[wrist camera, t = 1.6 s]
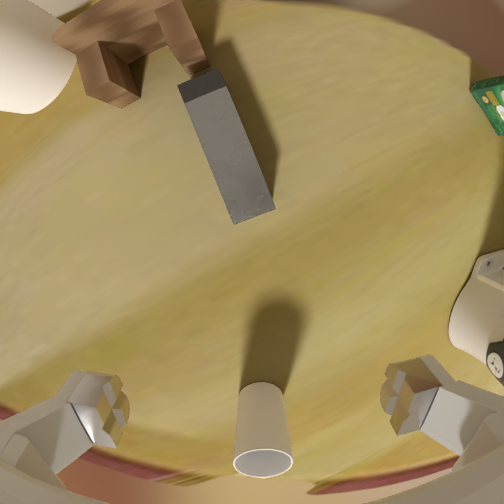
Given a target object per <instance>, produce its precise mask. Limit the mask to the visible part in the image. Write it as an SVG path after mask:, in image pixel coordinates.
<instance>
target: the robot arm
mask: <svg viewBox="0 0 504 504" xmlns="http://www.w3.org/2000/svg"><path fill="white" fill-rule="evenodd" d="M449 337H450V340H451V342H452V344H453V345H454V346H455V347H456V348H458V349H460V350H463V351H465V352H467V353H469V354H471V355H472V356H474V357H475V358H477V359H478V360H480V361H481V362H483V363H484V364H485V365H486V366H487V367H488V368H489V370H490V371H491V373H492V374H493V375H494V376H495V377H496V379H497V380H498V381H499V382H500V383H501V384H502V385H503V386H504V249H503V250H499V251H496V252H493V253H489V254H486V255H482V256H480V257H479V258H478V259H477V261H476V263H475V266H474V269H473V272H472V275H471V277H470V279H469V281H468V282H467V284H466V285H465V287H464V288H463V290H462V291H461V293H460V295H459V297H458V298H457V301H456V303H455V305H454V308H453V310H452V313H451V317H450V322H449ZM385 375H386V377H387V378H388V379H387V380H386V381H385V382H384V383H383V384H382V387H381V392H380V401H381V405H382V407H383V409H384V411H385V412H386V413H388V414H389V415H391V419H390V423H391V425H392V427H393V429H394V431H395V432H396V434H397V436H398V435H402V434H406V433H409V432H413V431H416V430H420V429H421V430H420V431H422V432H423V433H425V434H426V435H428V436H429V437H431V438H432V439H434V440H436V441H437V442H439V443H440V444H442V445H443V446H445V447H446V448H448V449H450V450H451V451H453V452H454V453H456V454H458V455H459V456H460V457H459V459H458V460H457V462H456V463H455V464H454V466H453V468H452V471H453V472H451V473H449V474H447V475H444V476H442V477H440V478H438V479H435V480H433V481H431V482H428V483H426V484H423V485H420V486H418V487H415V488H413V489H410V490H408V491H404V492H401V493H398V494H395V495H392V496H389V497H386V498H382V499H379V500H376V501H372V502H368V503H364V504H504V397H503V396H500V395H497V394H495V393H492V392H489V391H486V390H484V389H481V388H478V387H475V386H473V385H470V384H467V383H465V382H462V381H455V380H454V379H453V378H452V377H451V376H450V374H449V373H448V372H447V371H446V370H445V369H444V368H443V366H442V365H441V364H440V363H439V362H438V361H437V360H436V359H435V358H434V356H432V355H430V354H428V355H424V356H421V357H417V358H414V359H409V360H405V361H400V362H395V363H390V364H389V365H388V367H387V369H386V372H385ZM122 386H123V385H122V382H121V379H120V377H118V376H117V375H112V374H105V373H98V372H92V371H84V370H78V369H77V370H74V371H73V372H72V374H71V375H70V376H69V378H68V379H67V381H66V382H65V383H64V385H63V386H62V387H61V389H60V390H59V392H58V393H57V394H56V396H55V397H54V399H50V398H49V399H47V400H45V401H43V402H41V403H39V404H37V405H35V406H33V407H31V408H28V409H26V410H24V411H22V412H20V413H18V414H16V415H14V416H11V417H9V418H7V419H5V420H3V421H1V422H0V504H110V503H106V502H102V501H98V500H95V499H92V498H88V497H85V496H82V495H79V494H76V493H73V492H70V491H67V490H65V489H66V487H65V485H64V483H63V482H62V481H61V480H60V479H59V478H58V477H57V475H56V474H57V473H59V472H60V471H61V470H63V469H64V468H65V467H66V466H68V465H69V464H70V463H72V462H73V461H74V460H75V459H77V458H78V457H79V456H80V455H82V454H83V453H84V452H85V451H87V450H88V449H89V448H90V447H92V446H93V444H95V445H101V446H106V447H112V448H117V446H118V444H119V441H120V439H121V436H122V434H123V433H122V431H121V429H120V427H122V426H123V425H125V424H126V423H127V421H128V418H129V411H130V407H129V401H128V398H127V396H126V395H125V394H124V393H123V392H122V391H121V388H122Z"/></svg>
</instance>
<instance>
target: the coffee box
mask: <svg viewBox="0 0 504 504" xmlns="http://www.w3.org/2000/svg"><path fill="white" fill-rule="evenodd" d="M470 92H471V93H472V94H473V96H474V97H475V99H476V101H477V103H478V104H479V105H480V106H481V108H482V109H483V111H484V113H485V114H486V116H487V117H488V119H489V121H490V122H491V124H492V126H493V128H494V129H495V131H496V133H497V134H498V135H504V76H500V77H495V78H491V79H486V80H482V81H479V82H476V83H475V84H474V86H473V87H472V88H471V91H470Z"/></svg>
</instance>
